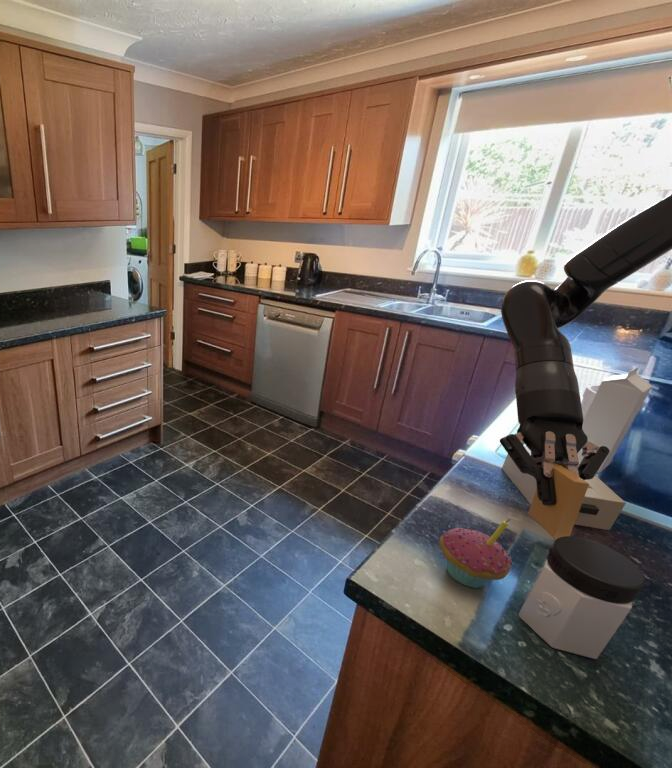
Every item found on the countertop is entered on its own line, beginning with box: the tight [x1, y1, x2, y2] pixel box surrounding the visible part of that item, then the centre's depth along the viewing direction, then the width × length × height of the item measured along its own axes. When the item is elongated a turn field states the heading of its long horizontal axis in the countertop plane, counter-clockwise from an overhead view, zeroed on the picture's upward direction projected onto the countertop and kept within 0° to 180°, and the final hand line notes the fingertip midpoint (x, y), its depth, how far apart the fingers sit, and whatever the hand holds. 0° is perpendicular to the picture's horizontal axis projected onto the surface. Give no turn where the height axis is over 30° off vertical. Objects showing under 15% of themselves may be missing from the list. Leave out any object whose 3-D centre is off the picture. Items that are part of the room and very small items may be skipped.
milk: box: [577, 365, 653, 474], centre depth 87 cm, size 6×6×22 cm
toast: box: [528, 463, 589, 539], centre depth 62 cm, size 2×6×9 cm, turn 165°
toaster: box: [501, 445, 626, 531], centre depth 79 cm, size 17×10×6 cm, turn 165°
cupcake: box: [438, 518, 513, 589], centre depth 61 cm, size 9×8×12 cm
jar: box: [517, 535, 646, 660], centre depth 54 cm, size 9×8×12 cm
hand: (559, 506), depth 61 cm, fingers closed on toast, 1 cm apart
